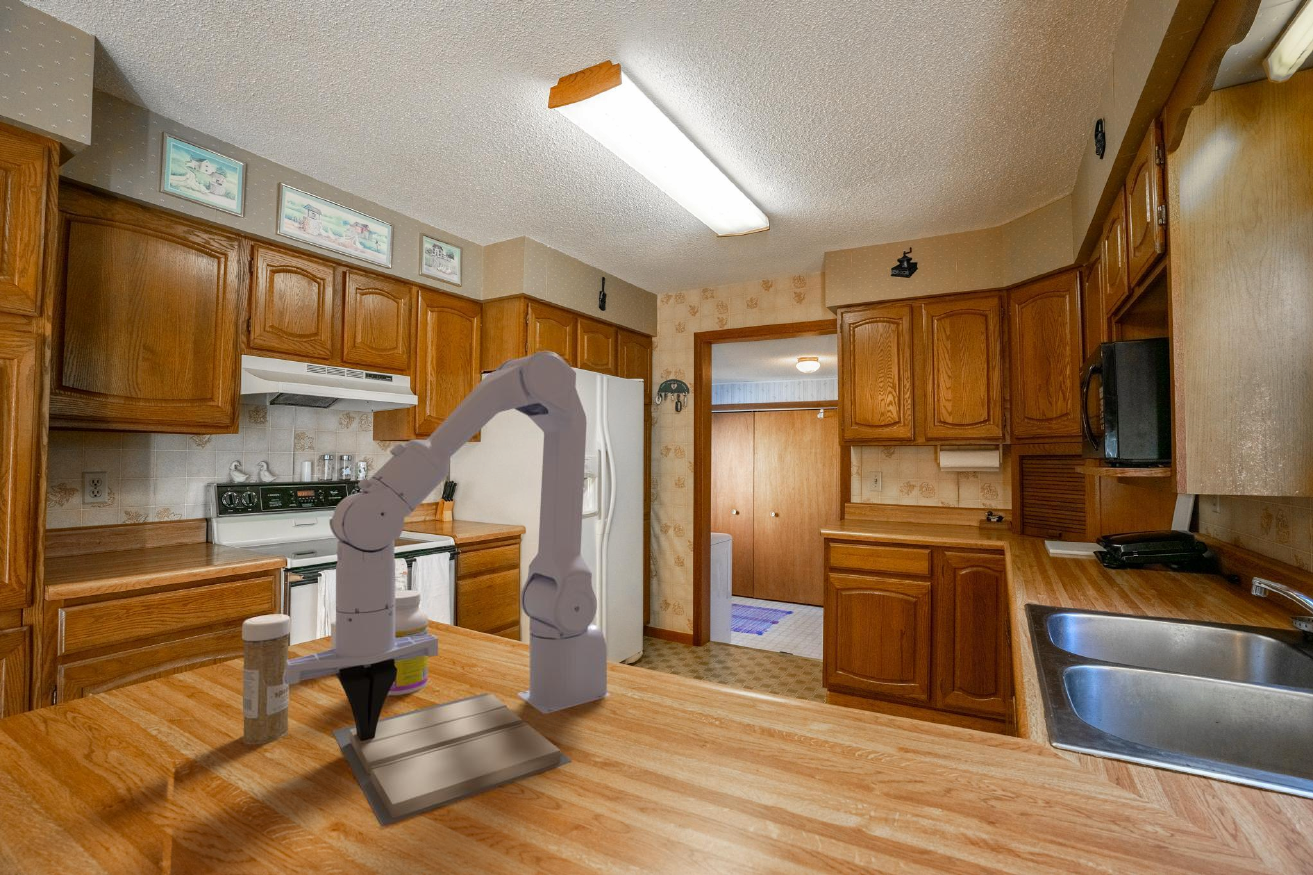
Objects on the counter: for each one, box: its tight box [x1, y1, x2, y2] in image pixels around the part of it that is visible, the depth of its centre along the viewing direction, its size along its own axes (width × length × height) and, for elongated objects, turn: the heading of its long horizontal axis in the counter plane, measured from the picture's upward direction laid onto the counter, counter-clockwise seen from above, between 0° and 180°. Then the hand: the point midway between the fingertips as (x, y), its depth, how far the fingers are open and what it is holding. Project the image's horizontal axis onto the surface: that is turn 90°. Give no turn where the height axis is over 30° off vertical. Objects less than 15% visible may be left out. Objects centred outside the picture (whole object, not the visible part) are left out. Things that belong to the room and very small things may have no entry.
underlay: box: [331, 692, 572, 827], centre depth 67 cm, size 18×22×1 cm
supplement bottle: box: [387, 589, 429, 696], centre depth 84 cm, size 7×7×13 cm
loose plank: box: [350, 693, 523, 775], centre depth 69 cm, size 16×8×1 cm, turn 127°
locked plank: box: [371, 722, 561, 818], centre depth 61 cm, size 16×8×1 cm, turn 127°
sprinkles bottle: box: [241, 613, 291, 745], centre depth 70 cm, size 5×5×14 cm
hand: (365, 736), depth 66 cm, fingers closed, pressing on loose plank
